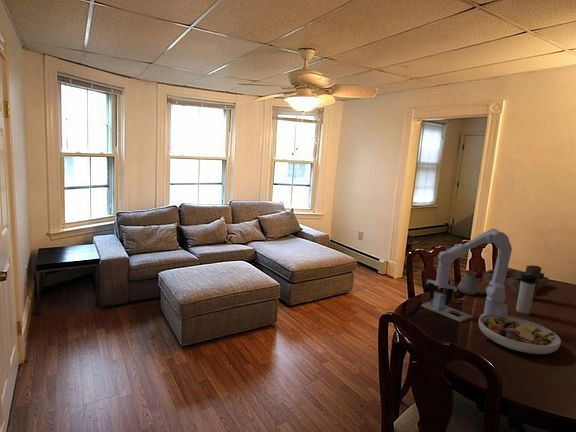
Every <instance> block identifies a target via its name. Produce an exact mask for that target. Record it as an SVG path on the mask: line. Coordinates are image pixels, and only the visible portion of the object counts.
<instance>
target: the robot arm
mask: <svg viewBox="0 0 576 432" xmlns="http://www.w3.org/2000/svg"><path fill="white" fill-rule="evenodd" d="M482 244H489V245H492V244H493V245H495V247H496V248H497V249H498V251H497V252H498V253H497V256H496V261H495V264H494V273H493V278H492V280H491V281H490V282H489V283H488V285H487V286H486V287H485V294H486V298H485V303H484V309H483V313H482V314H479V316H480V317H481V316H483V315H489V314H497V315H506V316H508V310H509V306H508V304H506V303H504V302H505V300H506V299H507V298H506V296H507V295H506V288H505V286H504V281H505V278H507V275H506V273H507V269H508V268H509V263H510V259H511V255H512V251H513V247H512V244H511V243H510V237H508V235H507V234H505V233H504V232H503V231H500V230H498V229H496V228H492V229H491V228H490V229H489V230H487V231H484V232H482V233H481V234H479V235H477V236H476V237H474V238H472V239H471V240H469V241H467V242H466V243H463V244H462V243H456V244H454V246H453V247H450V248H446V249H445V250H443V251H440V253H439V254H438V255H437V259H438V260H439V261H438V265H437V270H436V271H437V272H436V279H435V280H433V279H429V278H428V279H427V280H426V285H427V289H428V291H429V297H430V300H431V299H433V297H434V292H435V290H436V287H438V288H442V289H446V300H445V305H446V304H447V305H448V304H449V302H450V300H451V298H452V296H453V295H454V293H455V292H457V291H458V286H454V285H452V284H450V283H449V279H450V275H451V274H450V273H451V264H453V263H454V261H455V260H456V259H459V258H461V257H463V256H464V255H467V253H468V251H470V250H471V249H473V248H476V247H478V246H480V245H482Z"/></svg>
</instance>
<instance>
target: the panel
mask: <svg viewBox="0 0 576 432" xmlns="http://www.w3.org/2000/svg"><path fill="white" fill-rule="evenodd" d="M432 306H433V301H431V300H430V301H426V302H424V303H421V307H422V308H425V309H427V310H430V311H432V312H434V313H438V314H439V315H442V316H444V317H447V318H450V319H452V320H455V321H457V322H460V323H462V322H464V321H467V320H469V319H472V314H468V313H467V312H463V311H460V310H458V309H455V308H452V307H450V306H447V305H445V307H444V309H443V310H439V309H437V308H434V307H432ZM452 313H453V314H452ZM455 314H456V315H455ZM457 315H459V316H457Z"/></svg>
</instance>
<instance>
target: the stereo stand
mask: <svg viewBox="0 0 576 432" xmlns="http://www.w3.org/2000/svg"><path fill="white" fill-rule="evenodd" d="M494 269H495V268H494ZM494 269H493V268H492V269H490V270H486V271H483V272H482V276H481V277H482V278H481V282H484V283H488V284H489V282H490V281H491V280H492V278H493V273H494ZM523 275H525V271H523V270H520V269H516V268H511V267H508V269H507V273H506V277H505V281H504V286H505V289H507V290H511V291H514V292H518V293H519V288H520V283H521V282H520V281H517V280H516V279H518V278H522V276H523ZM508 277H511V278H508ZM512 278H515V279H512ZM548 281H549V277H548V276H547V277H546V276H544V278H542V279H539V283H538V288H537V291H539V290H541V289H543V288H546V287H547V286H548Z"/></svg>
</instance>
